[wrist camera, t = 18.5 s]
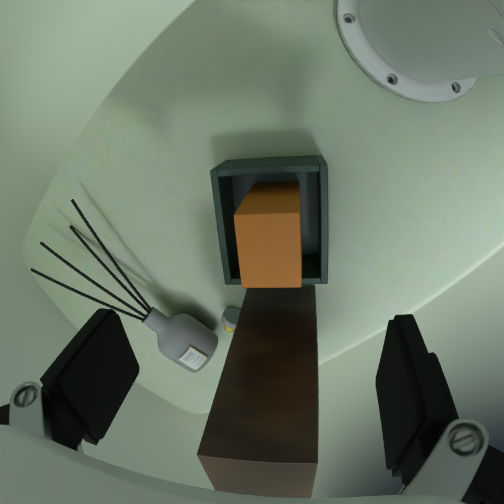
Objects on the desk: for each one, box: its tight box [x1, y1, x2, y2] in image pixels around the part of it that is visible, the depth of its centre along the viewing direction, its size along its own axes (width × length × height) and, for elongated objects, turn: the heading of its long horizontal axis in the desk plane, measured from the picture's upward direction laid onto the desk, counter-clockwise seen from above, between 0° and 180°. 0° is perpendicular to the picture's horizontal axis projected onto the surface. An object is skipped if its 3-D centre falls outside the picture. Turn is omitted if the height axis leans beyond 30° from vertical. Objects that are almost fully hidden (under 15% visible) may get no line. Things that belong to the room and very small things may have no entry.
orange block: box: [234, 181, 302, 288], centre depth 21 cm, size 4×4×8 cm
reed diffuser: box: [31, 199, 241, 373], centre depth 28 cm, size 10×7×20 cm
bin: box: [210, 155, 328, 285], centre depth 23 cm, size 8×8×4 cm
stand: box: [197, 286, 319, 498], centre depth 21 cm, size 6×6×17 cm
